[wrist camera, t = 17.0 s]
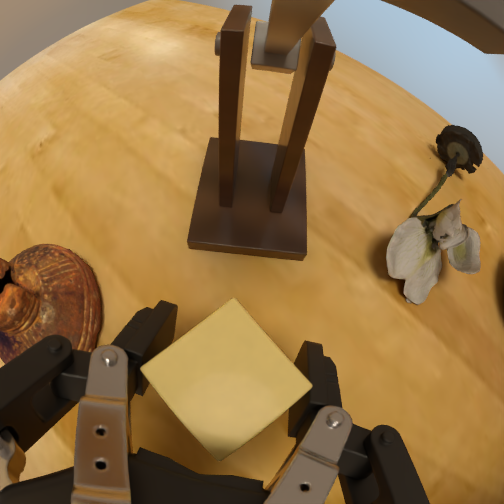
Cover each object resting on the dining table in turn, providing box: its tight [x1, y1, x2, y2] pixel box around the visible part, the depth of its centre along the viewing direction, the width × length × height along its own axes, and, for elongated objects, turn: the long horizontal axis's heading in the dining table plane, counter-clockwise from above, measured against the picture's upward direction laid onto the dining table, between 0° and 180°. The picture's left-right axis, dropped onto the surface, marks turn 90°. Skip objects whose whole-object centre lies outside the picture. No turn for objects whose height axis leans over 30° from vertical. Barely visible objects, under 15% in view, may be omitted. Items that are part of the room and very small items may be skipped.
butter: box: [140, 297, 312, 461], centre depth 12 cm, size 4×4×8 cm
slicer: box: [187, 5, 336, 261], centre depth 18 cm, size 11×9×16 cm
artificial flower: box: [386, 125, 483, 304], centre depth 23 cm, size 9×22×10 cm, turn 136°
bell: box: [0, 244, 101, 364], centre depth 16 cm, size 12×12×7 cm
